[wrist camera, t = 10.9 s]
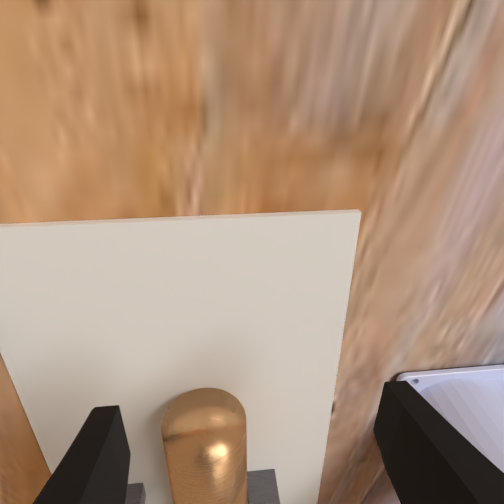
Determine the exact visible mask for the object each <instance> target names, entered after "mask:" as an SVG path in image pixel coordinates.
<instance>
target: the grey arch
mask: <svg viewBox="0 0 504 504" xmlns="http://www.w3.org/2000/svg"><path fill="white" fill-rule="evenodd" d="M145 499H146V493H145V488H144V484H143V483H133V484H128V485H127V493H126V499H125V504H145ZM247 499H248V504H280V499H279V493H278V487H277V481H276V475H275V469H266V470H257V471H247Z"/></svg>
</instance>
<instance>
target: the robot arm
mask: <svg viewBox="0 0 504 504" xmlns="http://www.w3.org/2000/svg"><path fill="white" fill-rule="evenodd" d="M373 431H374V434H375V437H376V440H377V444H378V447H379V453H380V455H381V456H382V459H383V462H384V465H385V468H386V471H387V473H388V475H389V478H390V480H391V482H392V484H393V487H394V489H395V491H396V494H397V496H398V498H399V500H400V503H401V504H504V364H502V365H490V366H478V367H466V368H454V369H443V370H431V371H419V372H407V373H402V374H400V375H399V376H398V377H397V380H396V381H392V382H385V383H384V388H383V392H382V396H381V400H380V404H379V409H378V413H377V417H376V421H375V425H374V430H373ZM130 457H131V453H130V449H129V444H128V440H127V436H126V432H125V428H124V424H123V420H122V415H121V411H120V407H119V405H113V406H101V407H94V408H93V409H92V410H91V412H90V414H89V415H88V417H87V419H86V421H85V422H84V424H83V426H82V427H81V429H80V431H79V433H78V434H77V436H76V438H75V439H74V441H73V442H72V444H71V446H70V447H69V449H68V451H67V452H66V454H65V455H64V457H63V459H62V460H61V462H60V463H59V465H58V466H57V468H56V469H55V471H54V472H53V474H52V475H51V477H50V478H49V480H48V482H47V483H46V485H45V486H44V488H43V489H42V491H41V492H40V494H39V495H38V497H37V498H36V499H35V501H34V502H33V504H125V499H126V493H127V485H128V476H129V466H130Z"/></svg>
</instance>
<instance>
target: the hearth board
mask: <svg viewBox="0 0 504 504" xmlns="http://www.w3.org/2000/svg"><path fill="white" fill-rule="evenodd" d="M360 218H361V212H360V210H359V209H351V210H326V211H302V212H278V213H253V214H229V215H204V216H180V217H156V218H131V219H107V220H83V221H58V222H34V223H9V224H0V353H1V355H2V358H3V360H4V363H5V365H6V367H7V370H8V372H9V374H10V377H11V379H12V382H13V384H14V386H15V389H16V391H17V394H18V396H19V398H20V401H21V403H22V405H23V408H24V410H25V413H26V415H27V417H28V420H29V422H30V425H31V427H32V429H33V432H34V434H35V437H36V439H37V441H38V444H39V446H40V448H41V451H42V453H43V456H44V458H45V460H46V463H47V465H48V468H49V470H50V472H51V475H52V474H53V472H54V471H55V469H56V468H57V466H58V465H59V463H60V462H61V460H62V459H63V457H64V455H65V454H66V452H67V451H68V449H69V447H70V446H71V444H72V442H73V441H74V439H75V438H76V436H77V434H78V433H79V431H80V429H81V427H82V426H83V424H84V422H85V421H86V419H87V417H88V415H89V414H90V412H91V410H92V409H93V408H94V407H101V406H113V405H119V407H120V411H121V415H122V420H123V424H124V428H125V432H126V436H127V440H128V444H129V449H130V453H131V457H130V466H129V476H128V484H133V483H143V484H144V488H145V493H146V499H145V504H174V503H173V498H172V492H171V486H170V481H169V475H168V469H167V464H166V458H165V453H164V447H163V441H162V436H161V422H162V418H163V416H164V413H165V412H166V410H167V408H168V407H169V406H170V405H171V403H172V402H173V401H175V400H176V399H177V398H178V397H180V396H181V395H183V394H185V393H187V392H189V391H192V390H195V389H199V388H217V389H221V390H224V391H227V392H229V393H230V394H232V395H234V396H235V397H236V398H237V399H238V400H239V401H240V403H241V404H242V406H243V408H244V410H245V413H246V425H247V471H257V470H266V469H275V475H276V481H277V487H278V493H279V499H280V504H317V502H318V495H319V489H320V482H321V475H322V469H323V462H324V456H325V449H326V442H327V436H328V429H329V423H330V416H331V409H332V403H333V396H334V390H335V383H336V377H337V370H338V363H339V357H340V350H341V344H342V337H343V330H344V324H345V317H346V311H347V304H348V297H349V291H350V284H351V278H352V271H353V264H354V258H355V251H356V245H357V238H358V231H359V225H360ZM247 503H248V499H247Z"/></svg>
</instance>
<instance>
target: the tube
mask: <svg viewBox="0 0 504 504" xmlns="http://www.w3.org/2000/svg"><path fill="white" fill-rule="evenodd" d="M161 436H162V441H163V447H164V453H165V458H166V464H167V469H168V475H169V481H170V486H171V492H172V498H173V503H174V504H248V503H247V425H246V413H245V410H244V408H243V406H242V404H241V403H240V401H239V400H238V399H237V398H236V397H235V396H234V395H232V394H230V393H229V392H227V391H224V390H221V389H217V388H199V389H195V390H192V391H189V392H187V393H185V394H183V395H181V396H180V397H178V398H177V399H176V400H175V401H173V402H172V403H171V405H170V406H169V407H168V408H167V410H166V412H165V413H164V416H163V418H162V422H161Z"/></svg>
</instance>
